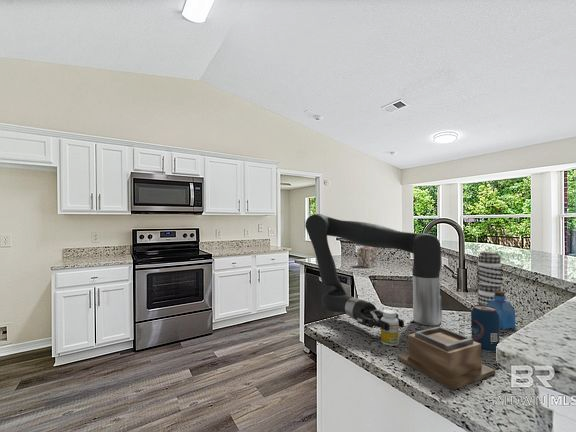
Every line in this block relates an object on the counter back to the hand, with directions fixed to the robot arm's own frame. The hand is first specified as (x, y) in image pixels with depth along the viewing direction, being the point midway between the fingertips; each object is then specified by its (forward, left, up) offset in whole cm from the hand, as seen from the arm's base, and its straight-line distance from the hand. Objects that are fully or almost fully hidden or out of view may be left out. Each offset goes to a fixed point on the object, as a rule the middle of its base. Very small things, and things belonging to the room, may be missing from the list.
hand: (395, 325), depth 87 cm
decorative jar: (-94, -125, -6) cm, 156 cm away
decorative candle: (-60, -7, -6) cm, 60 cm away
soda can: (-23, +12, -6) cm, 27 cm away
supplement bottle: (0, -3, -6) cm, 7 cm away
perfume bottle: (-47, +3, -6) cm, 48 cm away
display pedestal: (-2, +14, -6) cm, 16 cm away
